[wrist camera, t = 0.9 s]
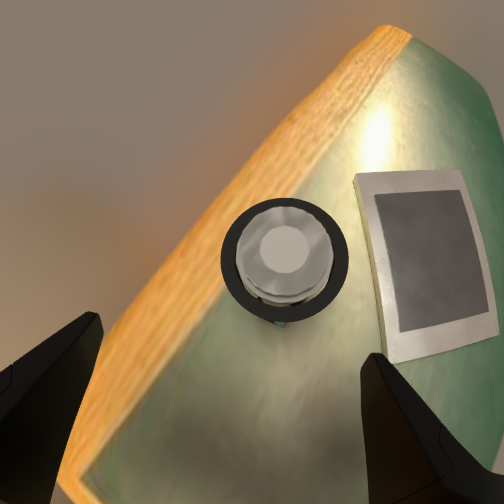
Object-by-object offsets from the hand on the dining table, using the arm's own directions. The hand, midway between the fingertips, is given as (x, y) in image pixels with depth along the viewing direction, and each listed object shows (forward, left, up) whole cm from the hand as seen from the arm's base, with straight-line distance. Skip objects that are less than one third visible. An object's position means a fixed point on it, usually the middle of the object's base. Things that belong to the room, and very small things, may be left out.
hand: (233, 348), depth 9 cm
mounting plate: (+5, -13, -12) cm, 18 cm away
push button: (+4, -2, -12) cm, 13 cm away
